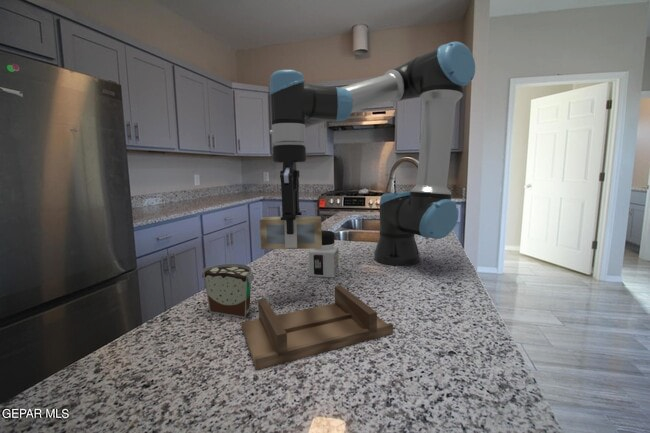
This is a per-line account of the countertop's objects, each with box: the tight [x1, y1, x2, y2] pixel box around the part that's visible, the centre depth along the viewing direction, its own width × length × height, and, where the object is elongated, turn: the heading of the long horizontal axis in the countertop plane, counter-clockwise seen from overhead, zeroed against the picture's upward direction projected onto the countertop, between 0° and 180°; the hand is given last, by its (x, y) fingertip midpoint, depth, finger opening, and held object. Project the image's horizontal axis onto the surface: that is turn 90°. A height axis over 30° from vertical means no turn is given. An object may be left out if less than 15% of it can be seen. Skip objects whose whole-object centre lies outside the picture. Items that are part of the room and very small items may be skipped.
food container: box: [201, 263, 255, 319], centre depth 70 cm, size 12×6×10 cm, turn 71°
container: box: [307, 229, 339, 279], centre depth 94 cm, size 8×8×13 cm
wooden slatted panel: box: [240, 285, 394, 371], centre depth 61 cm, size 26×15×5 cm, turn 113°
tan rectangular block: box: [259, 215, 323, 250], centre depth 74 cm, size 14×4×7 cm, turn 89°
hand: (292, 244), depth 74 cm, fingers closed on tan rectangular block, 4 cm apart
